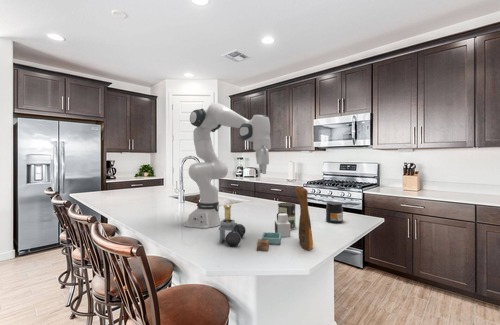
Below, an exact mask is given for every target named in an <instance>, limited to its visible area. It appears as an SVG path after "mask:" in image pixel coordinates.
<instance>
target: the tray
mask: <svg viewBox="0 0 500 325" xmlns="http://www.w3.org/2000/svg"><path fill="white" fill-rule="evenodd" d="M260 239H264V240H269V246H271V245H272V246H280V245H281V241H282V237H281V233H275V232H266V231H265V232H263V233H262V236H261V238H260Z"/></svg>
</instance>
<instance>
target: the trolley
mask: <svg viewBox="0 0 500 325" xmlns="http://www.w3.org/2000/svg"><path fill="white" fill-rule="evenodd" d="M235 221H236V220H235V219H231V222H225V218H224V219H222V220H220V222H221V224H220V225H219V227H218V231H219V243H220V244H222V243H223V242H224V241H225V243H226V244H227V246H229V247H231V248H235V247H238V245H239V244H240V242H241V238H243V237H244V236H245V234H246V227H245V225H243V224H241V223H238V222H235ZM226 231H228V233H227V234H226Z"/></svg>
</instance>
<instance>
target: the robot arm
mask: <svg viewBox="0 0 500 325" xmlns="http://www.w3.org/2000/svg"><path fill="white" fill-rule="evenodd" d="M189 122H190V124H191V125H192V126H194V127H195V128H194V129H193V144H194V150H195V154H196V156H197V158H199V159H201V160H203V161H204V162H195V163H192V164H190V166H189V168H188V176H189V177H190V179H191V180H193V182H195V184H196V185H197V187H198V188H199V189H198V190H199V199H200V201H199V202H198V203H196V206H197V208H196V209H194V210H192V212H191V213H190V214H188V218H187V221H185V222H184V223H183V225H184V227H186V228H187V227H188V228H195V229H196V228H197V229H208V228H214V227H218V226H219V227H220V226H221V218H220V213H219V210H220V201H219V190H218V188H217V187H216V186H215V185H212V184H211V181H212V180H221V179H224V178H226V176H227V175H228V172H229V167H228V166H227V164H226V163H224V162H223V161H222V160H221V159H220V158H219V157H218V156H217V154H216V152H215V151H214V150H215V149H214V147H213V142H212V138H211V133H215V132H216V131H217V130H219V129H220V128H221V127H228V128H237V129H238V136H239V139H241V141H245V142H252V143H253V148H252V150H253V151H255V160H256V164H257V165H258V169H259V173H260V174H262V175H266V174H267V166H268V165H269V164H270V158H269V155H270V154H269V151H270V150H271V149H272V147H271V146H272V145H271V142H272V141H271V140H272V139H271V136H270V134H271V122H270V118H269V116H268V115H266V114H257V113H256V114H254V115H253V116H252V118H251V119H248V118H247V117H244V116H242V115H241V114H239V113H237V112H236V111H234V110H232V109H231V108H229V107H227V106H226V105H225V104H222V103H219V102H212V103H210V104H209V105H208V107H207V109H204V108H200V109H199V108H198V109H194V110H192V111H191V113H190V115H189Z"/></svg>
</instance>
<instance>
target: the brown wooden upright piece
mask: <svg viewBox="0 0 500 325" xmlns="http://www.w3.org/2000/svg"><path fill="white" fill-rule="evenodd" d="M294 190H295V193H296V195H297V196H296V197H297V200H298V203H299V209H300V211H299V212H300V213H299V214H300V215H299V221H298V222H299V223H298V240H299V243H300V246H301V248H302V249H303V250H305V251H311V250H312V249H313V248H314V240H313V232H312V223H311V216H310V212H309V204H308V201H309V199H308V192H309V191H308V189H306V188H304V187H301V186H298V185H296V186H295V187H294Z"/></svg>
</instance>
